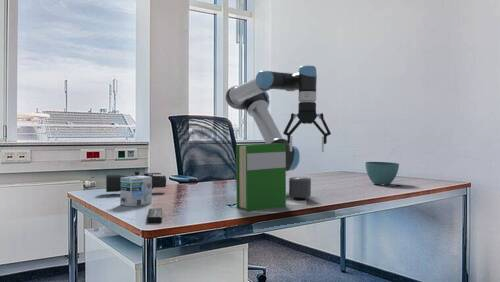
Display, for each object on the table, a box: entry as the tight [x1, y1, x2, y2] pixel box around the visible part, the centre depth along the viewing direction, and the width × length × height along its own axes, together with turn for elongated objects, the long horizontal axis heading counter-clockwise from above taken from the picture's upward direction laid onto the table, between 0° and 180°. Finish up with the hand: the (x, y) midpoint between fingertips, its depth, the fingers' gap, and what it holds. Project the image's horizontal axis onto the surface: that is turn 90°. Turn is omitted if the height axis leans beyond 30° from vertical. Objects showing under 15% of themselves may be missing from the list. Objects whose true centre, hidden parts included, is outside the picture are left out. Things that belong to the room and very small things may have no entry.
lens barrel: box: [293, 197, 307, 201], centre depth 172 cm, size 5×5×8 cm
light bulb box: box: [119, 174, 153, 208], centre depth 158 cm, size 11×7×11 cm, turn 148°
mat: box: [286, 197, 307, 206], centre depth 168 cm, size 12×16×1 cm
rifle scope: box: [105, 171, 167, 193], centre depth 186 cm, size 10×26×10 cm, turn 110°
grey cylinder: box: [288, 176, 312, 198], centre depth 172 cm, size 9×9×8 cm
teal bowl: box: [364, 161, 400, 186], centre depth 230 cm, size 18×18×12 cm
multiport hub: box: [146, 207, 163, 224], centre depth 133 cm, size 4×14×2 cm, turn 12°
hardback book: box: [235, 143, 287, 213], centre depth 153 cm, size 18×7×24 cm, turn 124°
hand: (306, 151), depth 175 cm, fingers open, 13 cm apart
